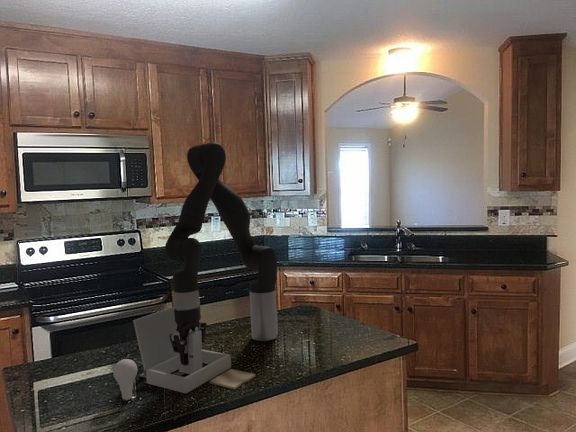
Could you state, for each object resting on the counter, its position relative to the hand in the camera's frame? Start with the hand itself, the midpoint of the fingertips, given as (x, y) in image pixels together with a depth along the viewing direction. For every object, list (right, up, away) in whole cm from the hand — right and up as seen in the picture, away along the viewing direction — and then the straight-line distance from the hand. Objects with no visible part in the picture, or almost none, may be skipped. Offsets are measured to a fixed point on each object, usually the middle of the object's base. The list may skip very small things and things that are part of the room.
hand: (190, 361), depth 145 cm
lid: (-8, +7, +4) cm, 12 cm away
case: (0, -4, 0) cm, 4 cm away
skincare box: (0, -3, 0) cm, 3 cm away
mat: (+13, -4, -4) cm, 14 cm away
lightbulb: (-14, -6, -15) cm, 21 cm away
